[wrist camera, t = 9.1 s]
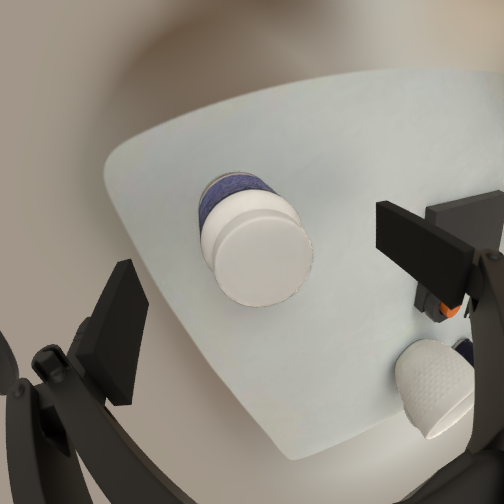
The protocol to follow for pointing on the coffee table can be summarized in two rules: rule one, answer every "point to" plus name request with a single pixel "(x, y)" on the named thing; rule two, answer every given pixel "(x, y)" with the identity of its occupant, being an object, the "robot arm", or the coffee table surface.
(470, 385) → the mug
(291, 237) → the pill bottle
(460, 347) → the beverage can
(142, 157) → the coffee table surface
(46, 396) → the robot arm
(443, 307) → the button
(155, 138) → the coffee table surface
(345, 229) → the coffee table surface
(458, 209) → the scale
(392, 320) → the coffee table surface
